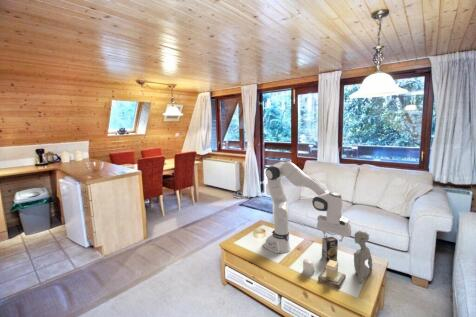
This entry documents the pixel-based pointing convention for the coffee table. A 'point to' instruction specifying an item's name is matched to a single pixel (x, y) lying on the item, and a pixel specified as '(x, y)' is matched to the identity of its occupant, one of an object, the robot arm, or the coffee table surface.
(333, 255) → the coffee box
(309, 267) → the white rounded cylinder
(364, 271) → the elf figurine
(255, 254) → the coffee table surface
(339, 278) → the wooden picture frame
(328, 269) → the carton
